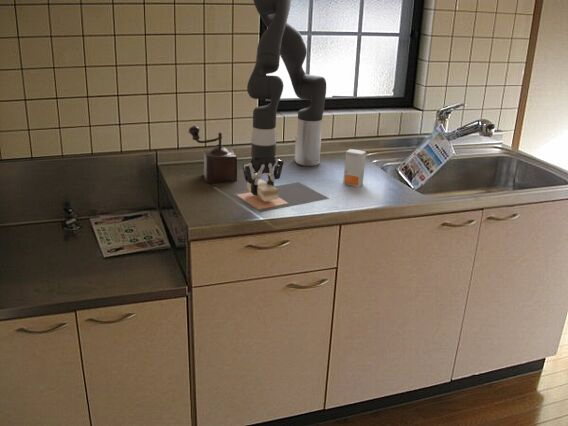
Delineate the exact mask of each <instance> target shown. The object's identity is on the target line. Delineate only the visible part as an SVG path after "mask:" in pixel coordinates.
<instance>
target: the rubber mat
mask: <svg viewBox="0 0 568 426" xmlns="http://www.w3.org/2000/svg"><path fill="white" fill-rule="evenodd" d="M274 187H276V188H277V189H279V191H278V199H275V200H270V201H263V200H261V199H260V198H258V197H256V196H255V195H253V194H252V193H250V192H248V191H247V190H244V191H239V192H233V193H232V195H233V196H234V197H237V198H238V199H239V200H241V201H242V202H244V203H246V204H247V205H248V206H250V207H252V208H253V209H255V210H257V211H258V212H259V213H264V212H268V211H269V212H270V211H274V210H279V209H284V208H289V207H294V206H298V205H304V204H310V203H315V202H318V201H324V200H329V199H330V198H329V197H328V196H326V195H324V194H322V193H320V192H318V191H316V190H315V189H312V188H311V187H309V186H307V185H305V184H303V183H301V182H299V181H297V182H291V183H286V184H279V185H274Z"/></svg>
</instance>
